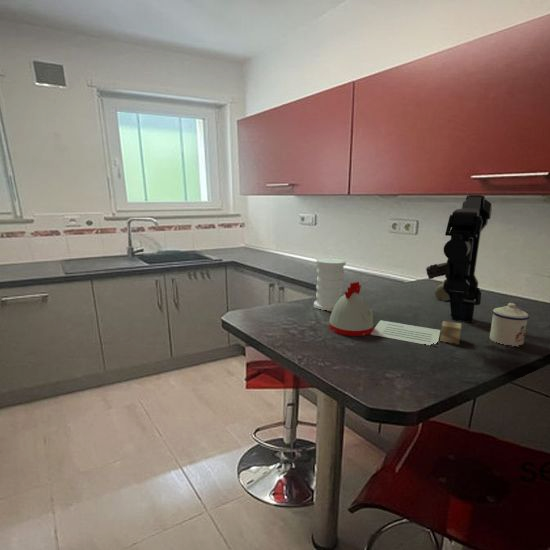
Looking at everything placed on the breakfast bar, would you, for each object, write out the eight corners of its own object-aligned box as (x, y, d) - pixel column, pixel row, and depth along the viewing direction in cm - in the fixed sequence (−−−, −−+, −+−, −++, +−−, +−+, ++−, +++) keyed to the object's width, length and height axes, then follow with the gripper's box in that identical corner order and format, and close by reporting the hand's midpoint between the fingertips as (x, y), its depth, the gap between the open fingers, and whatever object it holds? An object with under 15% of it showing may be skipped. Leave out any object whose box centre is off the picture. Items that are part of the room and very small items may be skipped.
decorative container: (350, 308, 139) (353, 261, 135) (326, 313, 133) (329, 264, 129) (330, 300, 148) (332, 257, 145) (307, 304, 142) (309, 259, 139)
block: (459, 339, 110) (461, 323, 109) (458, 345, 106) (460, 328, 105) (441, 336, 112) (443, 320, 111) (440, 341, 108) (441, 325, 107)
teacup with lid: (522, 350, 103) (528, 310, 100) (485, 341, 108) (491, 304, 106) (527, 338, 112) (533, 301, 109) (493, 330, 117) (498, 296, 115)
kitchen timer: (380, 328, 118) (384, 282, 115) (358, 339, 108) (361, 290, 105) (344, 318, 127) (346, 276, 124) (320, 328, 117) (322, 282, 114)
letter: (440, 330, 117) (440, 330, 117) (436, 346, 104) (437, 346, 104) (380, 320, 126) (380, 320, 125) (370, 334, 112) (370, 334, 112)
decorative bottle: (452, 302, 149) (454, 287, 148) (433, 300, 153) (434, 284, 152) (461, 290, 170) (462, 276, 169) (443, 287, 174) (445, 274, 173)
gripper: (432, 249, 116) (427, 297, 119) (426, 257, 99) (420, 312, 103) (472, 252, 111) (465, 301, 114) (472, 261, 94) (465, 319, 98)
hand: (453, 308), depth 107 cm, fingers open, 9 cm apart
